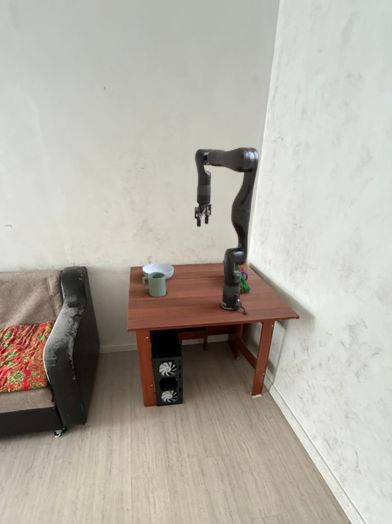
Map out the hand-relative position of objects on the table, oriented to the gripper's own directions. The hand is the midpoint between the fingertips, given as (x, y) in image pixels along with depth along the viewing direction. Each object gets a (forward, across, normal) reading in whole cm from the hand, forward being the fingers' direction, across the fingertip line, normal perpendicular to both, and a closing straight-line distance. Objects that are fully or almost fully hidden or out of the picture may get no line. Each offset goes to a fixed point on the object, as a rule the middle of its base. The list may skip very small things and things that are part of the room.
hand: (202, 225), depth 168 cm
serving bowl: (+37, -6, +30) cm, 48 cm away
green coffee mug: (+37, -25, +18) cm, 48 cm away
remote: (+37, -24, +16) cm, 47 cm away
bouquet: (+38, +17, -19) cm, 45 cm away
